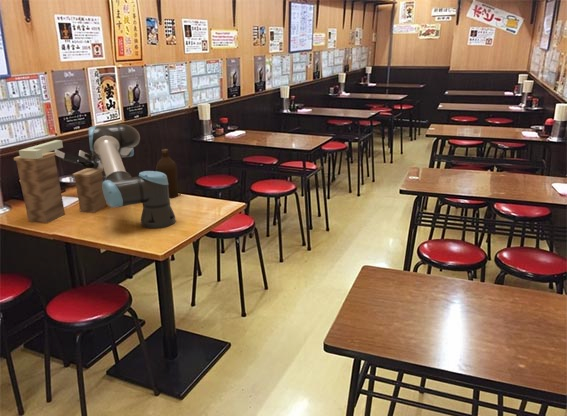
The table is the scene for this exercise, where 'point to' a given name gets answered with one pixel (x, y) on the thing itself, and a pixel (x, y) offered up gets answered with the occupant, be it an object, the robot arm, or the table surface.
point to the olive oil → (168, 172)
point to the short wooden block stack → (90, 190)
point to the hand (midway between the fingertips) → (67, 152)
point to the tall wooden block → (41, 188)
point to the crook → (40, 149)
